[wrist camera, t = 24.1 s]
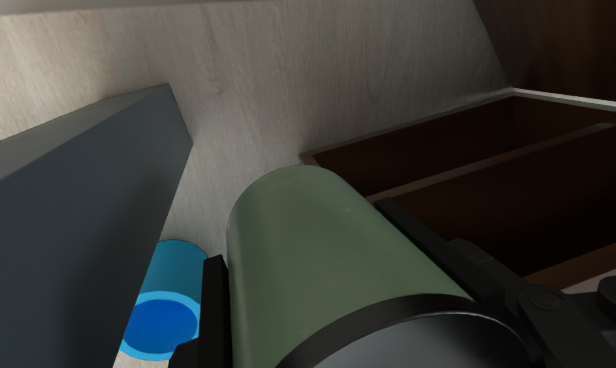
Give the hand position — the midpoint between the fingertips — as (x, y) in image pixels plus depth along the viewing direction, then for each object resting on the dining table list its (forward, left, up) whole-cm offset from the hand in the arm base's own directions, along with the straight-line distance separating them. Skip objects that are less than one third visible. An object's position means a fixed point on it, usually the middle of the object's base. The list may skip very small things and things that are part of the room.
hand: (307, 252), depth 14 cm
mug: (+12, -16, -21) cm, 28 cm away
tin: (0, 0, -2) cm, 2 cm away
